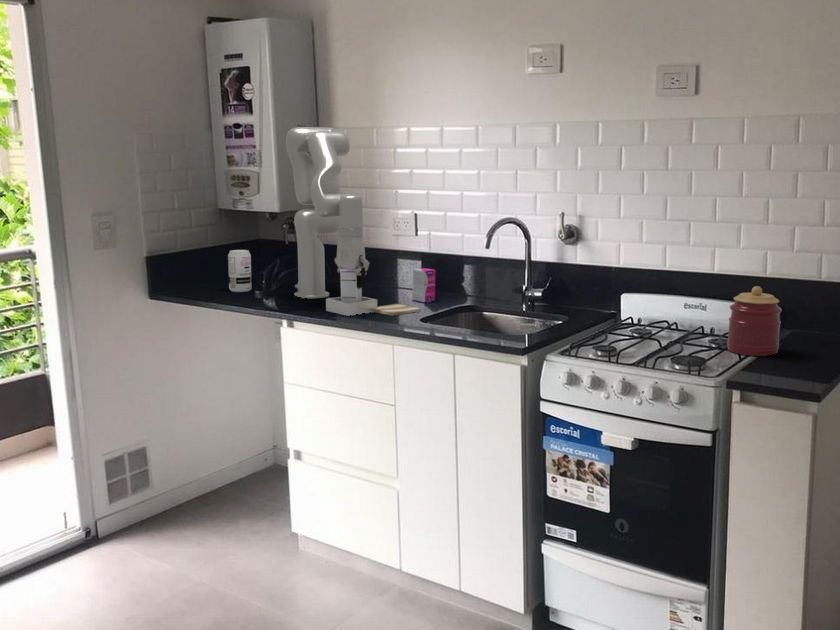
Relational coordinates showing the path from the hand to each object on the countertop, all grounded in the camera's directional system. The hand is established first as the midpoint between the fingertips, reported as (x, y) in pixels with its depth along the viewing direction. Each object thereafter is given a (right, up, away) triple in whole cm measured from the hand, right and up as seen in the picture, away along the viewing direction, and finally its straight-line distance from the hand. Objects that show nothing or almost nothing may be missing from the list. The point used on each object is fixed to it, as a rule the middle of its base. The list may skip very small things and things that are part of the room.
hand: (352, 285), depth 290 cm
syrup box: (0, -9, +2) cm, 9 cm away
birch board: (+14, -8, +3) cm, 16 cm away
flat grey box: (-3, -8, +5) cm, 9 cm away
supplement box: (+24, -5, +22) cm, 32 cm away
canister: (+111, -20, -53) cm, 125 cm away
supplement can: (-45, -1, +43) cm, 62 cm away
